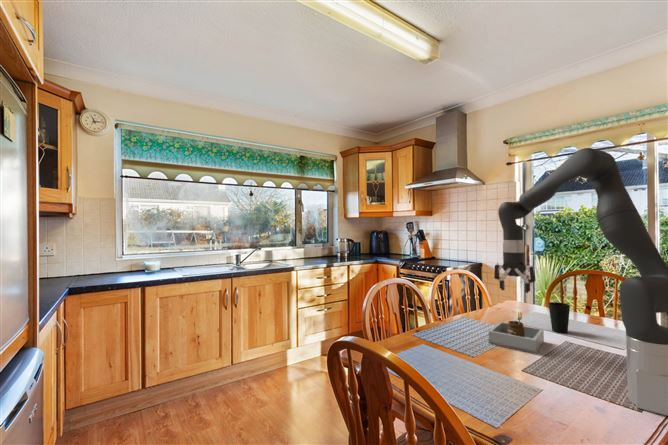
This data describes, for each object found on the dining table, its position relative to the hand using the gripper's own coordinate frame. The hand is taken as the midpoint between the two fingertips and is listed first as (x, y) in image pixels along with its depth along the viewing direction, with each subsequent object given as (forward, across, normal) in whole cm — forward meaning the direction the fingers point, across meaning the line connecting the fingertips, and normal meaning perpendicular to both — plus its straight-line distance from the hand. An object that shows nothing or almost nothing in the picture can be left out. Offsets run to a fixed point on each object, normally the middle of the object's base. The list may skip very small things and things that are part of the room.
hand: (514, 291), depth 125 cm
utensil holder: (+20, 0, 0) cm, 20 cm away
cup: (+21, +11, +27) cm, 36 cm away
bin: (+21, 0, 0) cm, 21 cm away
